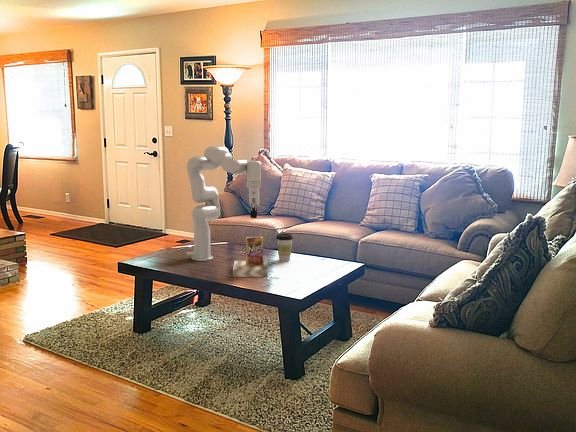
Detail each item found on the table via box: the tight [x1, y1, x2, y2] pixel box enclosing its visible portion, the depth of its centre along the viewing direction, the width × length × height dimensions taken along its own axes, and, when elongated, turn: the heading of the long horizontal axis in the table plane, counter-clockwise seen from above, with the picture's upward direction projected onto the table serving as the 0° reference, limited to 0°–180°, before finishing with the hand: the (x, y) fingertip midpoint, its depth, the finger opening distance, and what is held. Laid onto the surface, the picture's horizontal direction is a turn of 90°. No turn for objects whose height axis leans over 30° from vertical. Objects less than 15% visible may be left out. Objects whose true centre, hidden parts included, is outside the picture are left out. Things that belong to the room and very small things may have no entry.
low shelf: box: [232, 255, 268, 278], centre depth 307 cm, size 18×18×6 cm
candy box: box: [245, 236, 264, 266], centre depth 306 cm, size 9×4×15 cm, turn 102°
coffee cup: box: [275, 233, 294, 263], centre depth 333 cm, size 10×10×15 cm
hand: (253, 216), depth 303 cm, fingers open, 9 cm apart
